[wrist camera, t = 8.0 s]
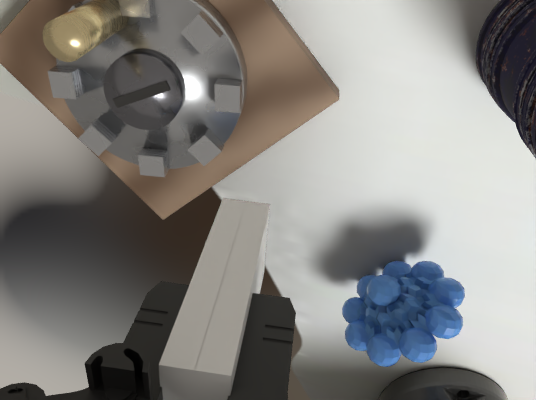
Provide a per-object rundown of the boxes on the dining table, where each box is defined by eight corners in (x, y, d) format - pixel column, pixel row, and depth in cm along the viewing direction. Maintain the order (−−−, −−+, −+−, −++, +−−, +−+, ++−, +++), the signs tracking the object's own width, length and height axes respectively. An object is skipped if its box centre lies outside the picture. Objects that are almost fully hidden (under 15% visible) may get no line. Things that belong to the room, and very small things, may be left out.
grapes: (426, 208, 45) (451, 302, 35) (460, 257, 47) (493, 358, 37) (319, 260, 50) (314, 356, 40) (356, 303, 52) (360, 403, 42)
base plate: (339, 90, 40) (339, 101, 38) (169, 208, 48) (161, 222, 46) (164, -143, 33) (152, -145, 31) (0, 43, 41) (-18, 51, 39)
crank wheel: (202, -53, 33) (159, -32, 25) (273, 130, 40) (256, 192, 32) (36, 17, 37) (-48, 54, 29) (125, 172, 44) (78, 238, 36)
